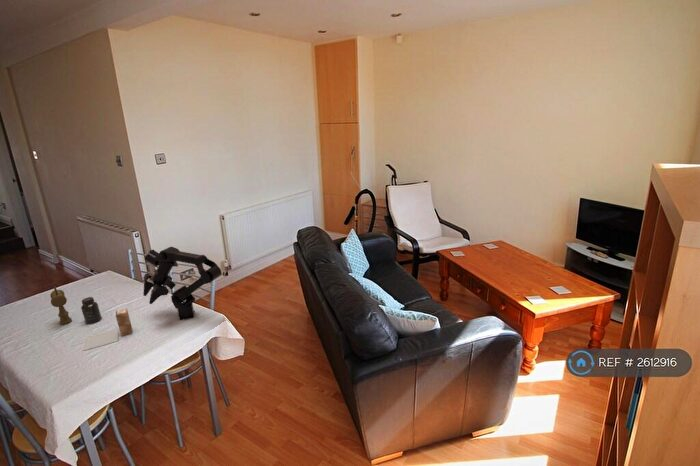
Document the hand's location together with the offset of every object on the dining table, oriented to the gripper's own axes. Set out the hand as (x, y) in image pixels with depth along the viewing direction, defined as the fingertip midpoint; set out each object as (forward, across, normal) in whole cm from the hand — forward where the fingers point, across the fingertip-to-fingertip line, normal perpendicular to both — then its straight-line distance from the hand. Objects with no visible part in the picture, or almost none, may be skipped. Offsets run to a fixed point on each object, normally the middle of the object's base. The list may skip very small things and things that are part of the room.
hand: (147, 299), depth 177 cm
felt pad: (+22, -1, +10) cm, 25 cm away
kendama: (+31, +30, +16) cm, 46 cm away
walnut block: (+16, -3, +2) cm, 17 cm away
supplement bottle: (+24, +22, +8) cm, 33 cm away
